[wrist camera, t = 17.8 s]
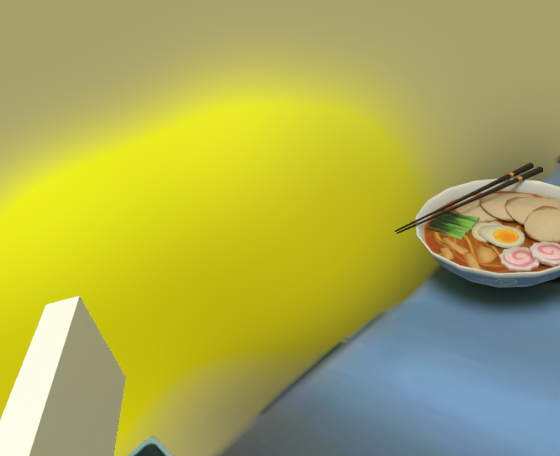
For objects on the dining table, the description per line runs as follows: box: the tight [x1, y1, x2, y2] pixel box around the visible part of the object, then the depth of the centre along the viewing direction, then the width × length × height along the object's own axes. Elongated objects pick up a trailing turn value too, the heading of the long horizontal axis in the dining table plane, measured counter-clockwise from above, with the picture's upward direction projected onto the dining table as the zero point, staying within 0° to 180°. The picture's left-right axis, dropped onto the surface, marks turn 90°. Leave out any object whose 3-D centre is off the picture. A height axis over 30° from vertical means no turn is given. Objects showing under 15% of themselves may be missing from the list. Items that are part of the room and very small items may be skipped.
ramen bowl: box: [395, 163, 560, 288], centre depth 67 cm, size 25×23×8 cm
